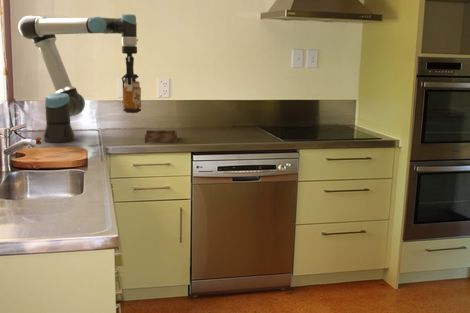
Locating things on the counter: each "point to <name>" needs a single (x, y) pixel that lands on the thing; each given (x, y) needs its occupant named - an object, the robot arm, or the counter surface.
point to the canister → (131, 95)
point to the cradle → (161, 136)
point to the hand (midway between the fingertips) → (130, 90)
